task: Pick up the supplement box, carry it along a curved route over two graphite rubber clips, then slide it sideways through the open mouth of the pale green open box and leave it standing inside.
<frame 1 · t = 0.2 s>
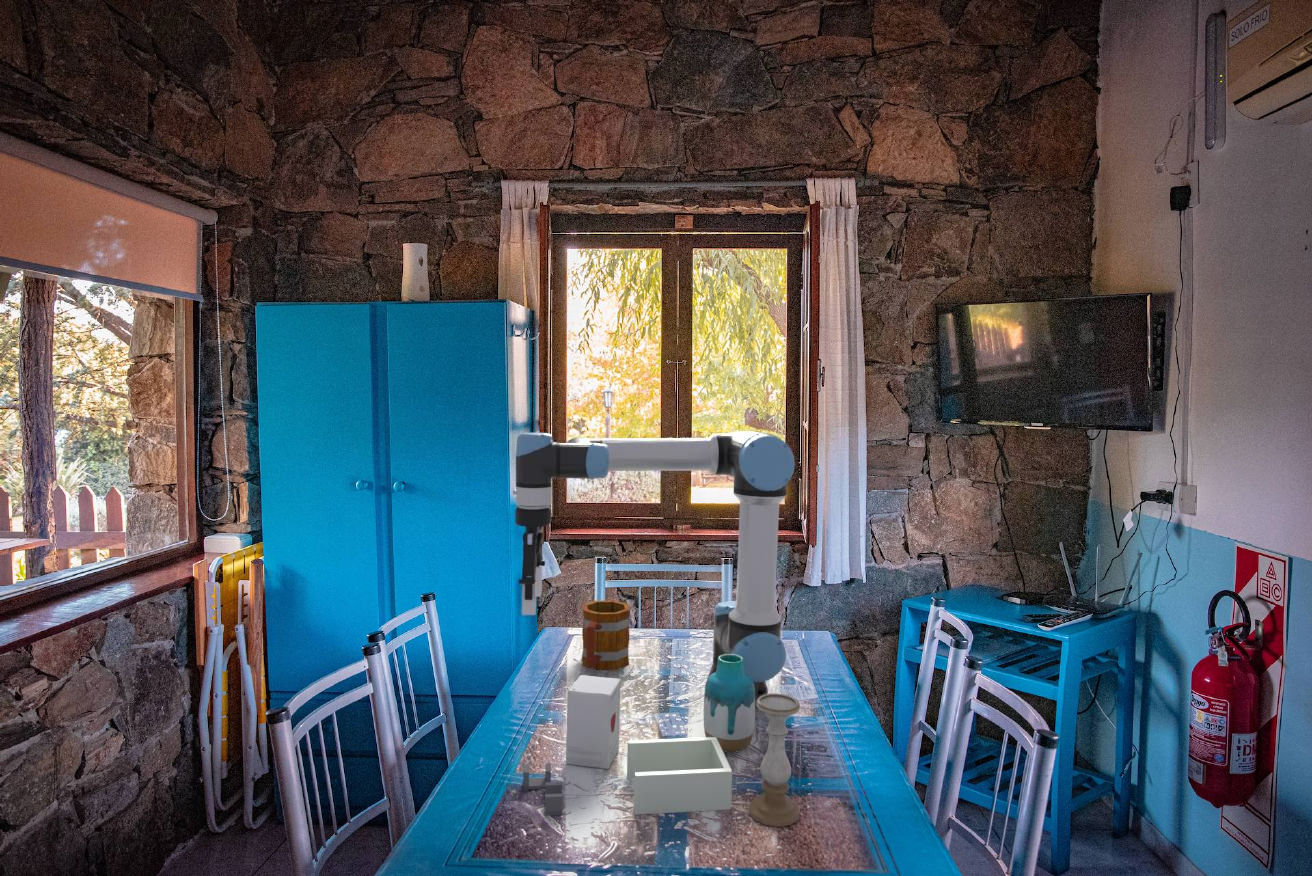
hand: (532, 605, 165), 27 cm above the table, fingers open, 13 cm apart
mug: (601, 666, 206), on the table
clip 1: (537, 784, 144), on the table
candle holder: (774, 814, 137), on the table
clip 2: (553, 807, 137), on the table
supplement box: (593, 757, 156), on the table
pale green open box: (663, 792, 143), on the table
vase: (728, 749, 161), on the table
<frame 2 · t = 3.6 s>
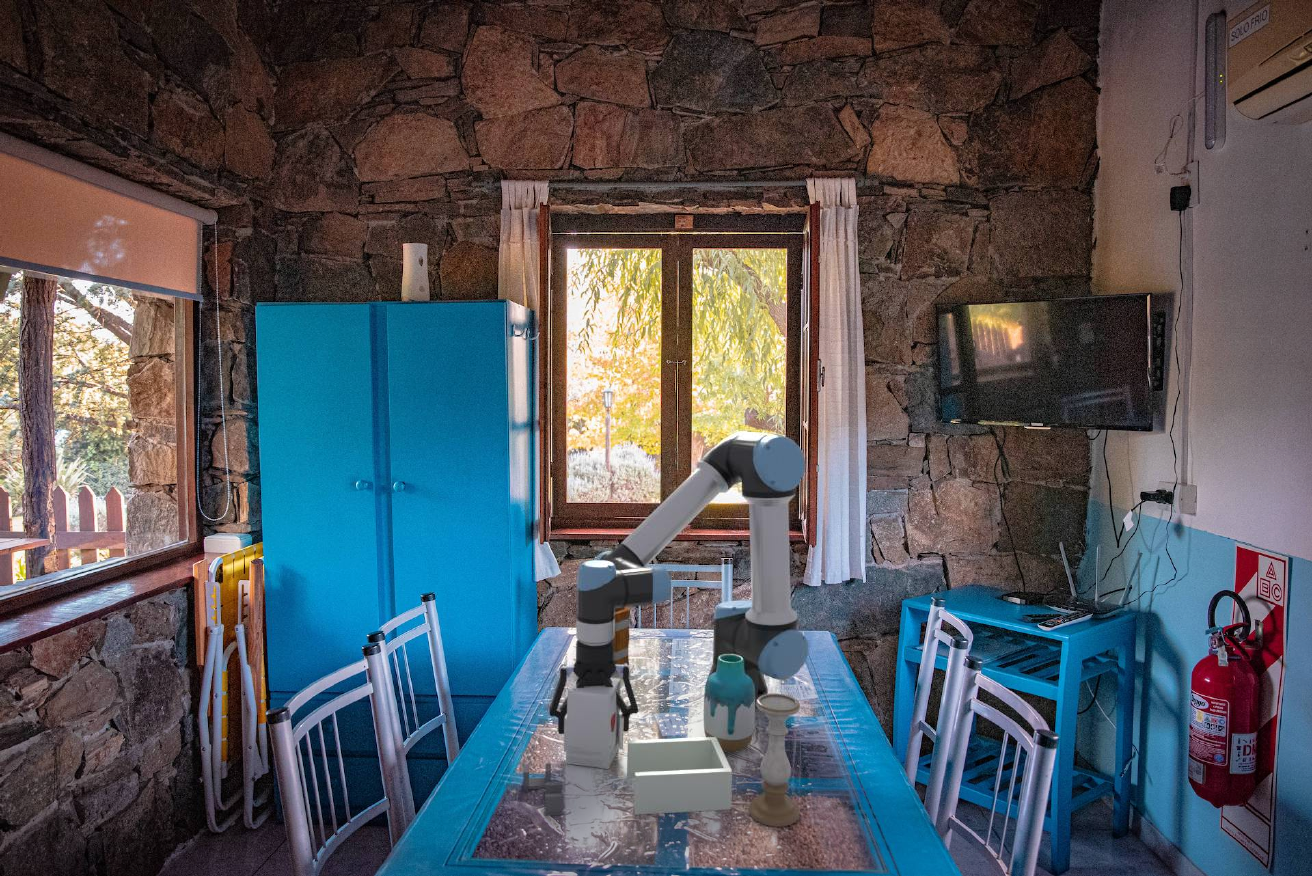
hand: (593, 747, 156), 2 cm above the table, fingers closed on supplement box, 10 cm apart
supplement box: (593, 757, 156), on the table, touching gripper
everything else where it was.
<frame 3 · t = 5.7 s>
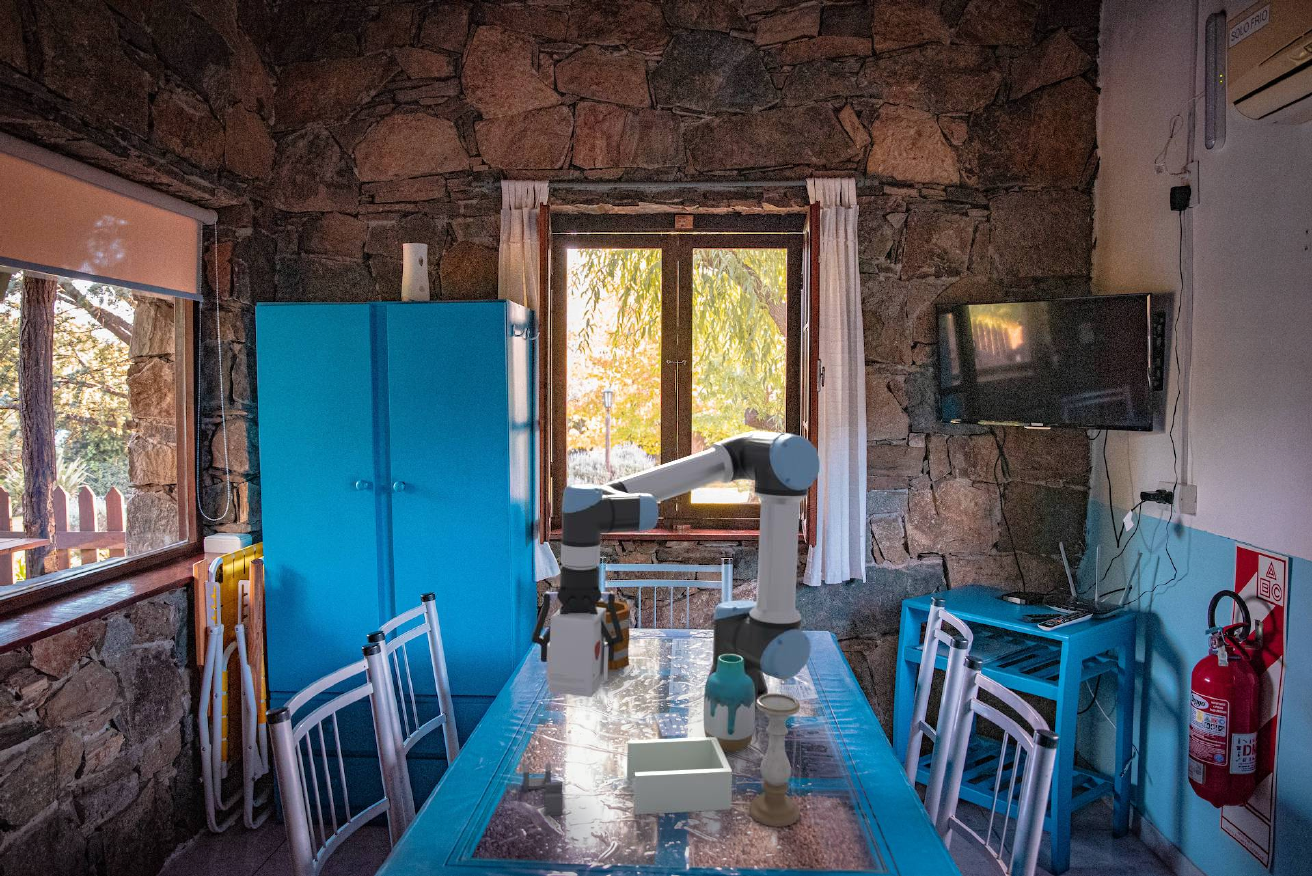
hand: (576, 677, 151), 18 cm above the table, fingers closed on supplement box, 10 cm apart
supplement box: (576, 687, 151), point 15 cm above the table, touching gripper
everything else where it was.
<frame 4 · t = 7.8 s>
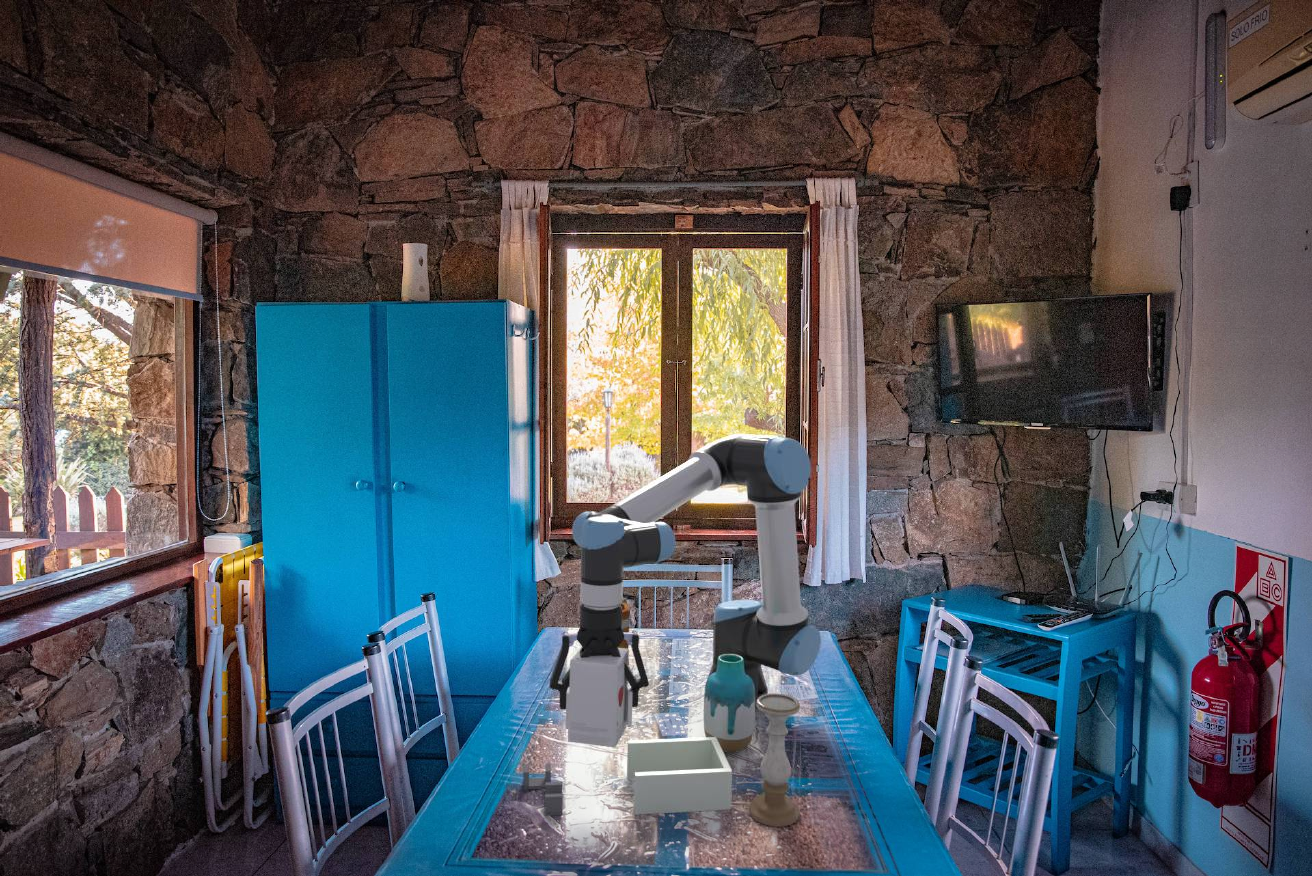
hand: (598, 724, 140), 13 cm above the table, fingers closed on supplement box, 10 cm apart
supplement box: (598, 735, 140), point 11 cm above the table, touching gripper
everything else where it was.
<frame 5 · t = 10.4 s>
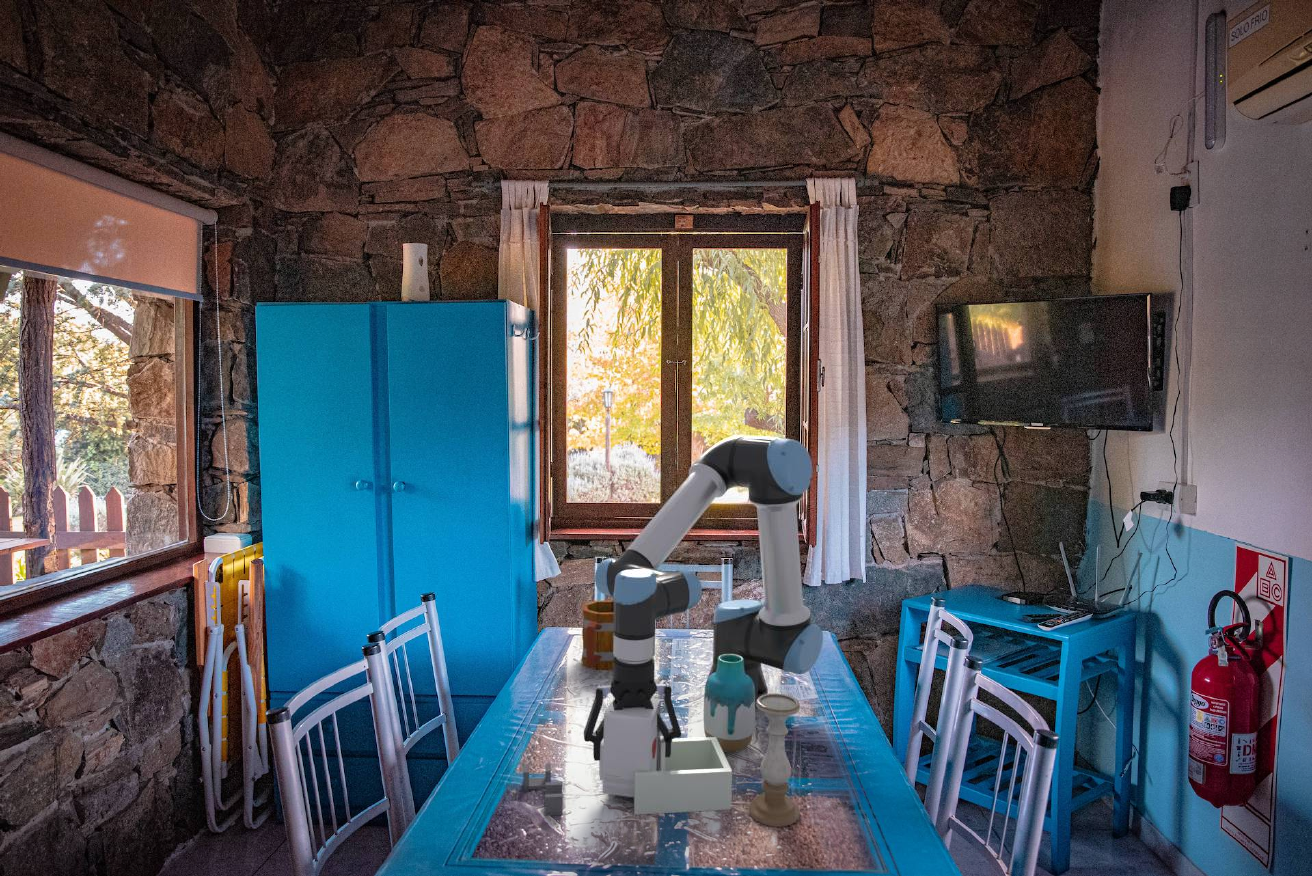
hand: (631, 774, 142), 4 cm above the table, fingers closed on supplement box, 10 cm apart
supplement box: (631, 785, 142), point 2 cm above the table, touching gripper
everything else where it was.
when the fingers open (4 cm above the table, at t = 12.3 s): supplement box drops 2 cm, resting in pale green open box.
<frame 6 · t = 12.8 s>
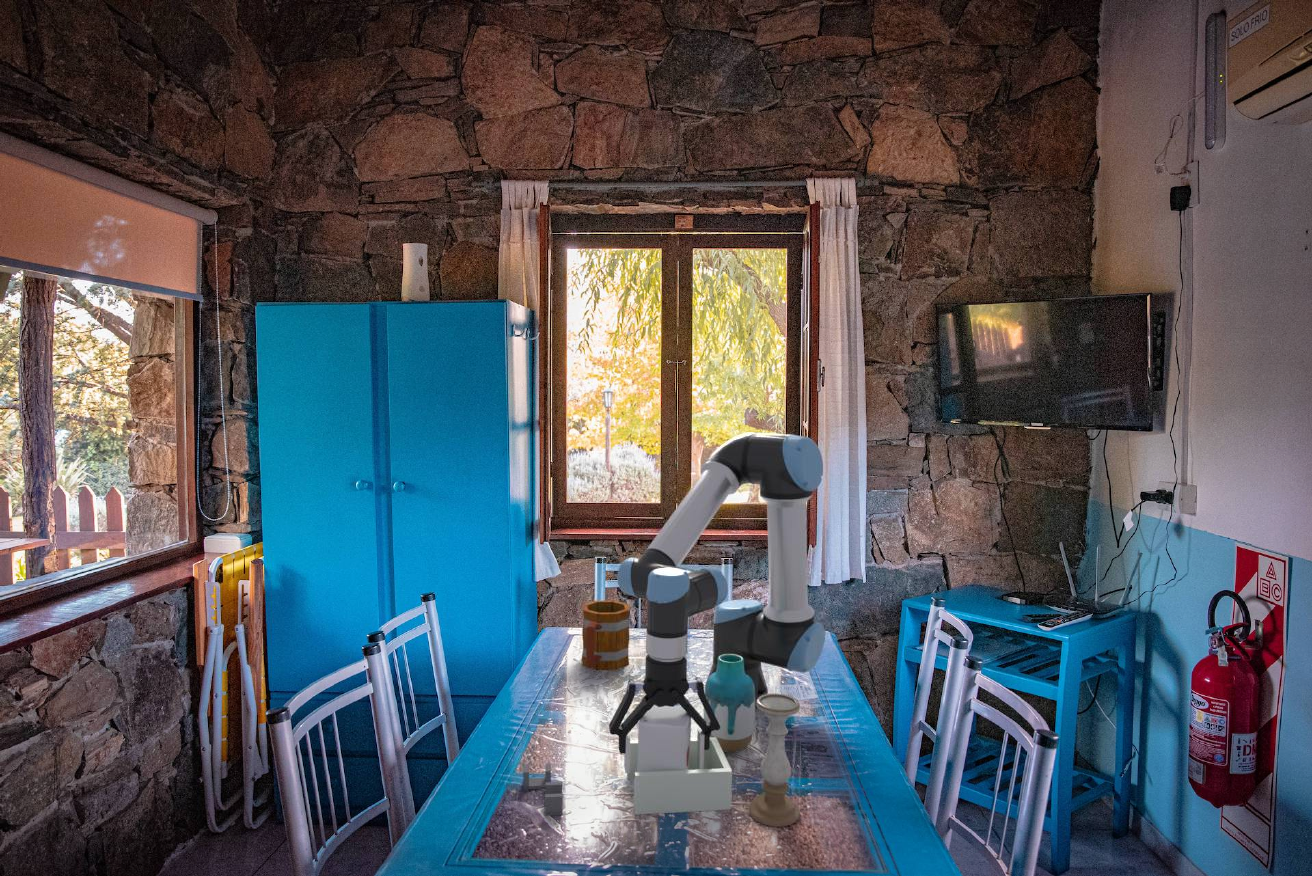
hand: (663, 768, 142), 5 cm above the table, fingers open, 13 cm apart
supplement box: (663, 794, 143), resting in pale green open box
everything else where it was.
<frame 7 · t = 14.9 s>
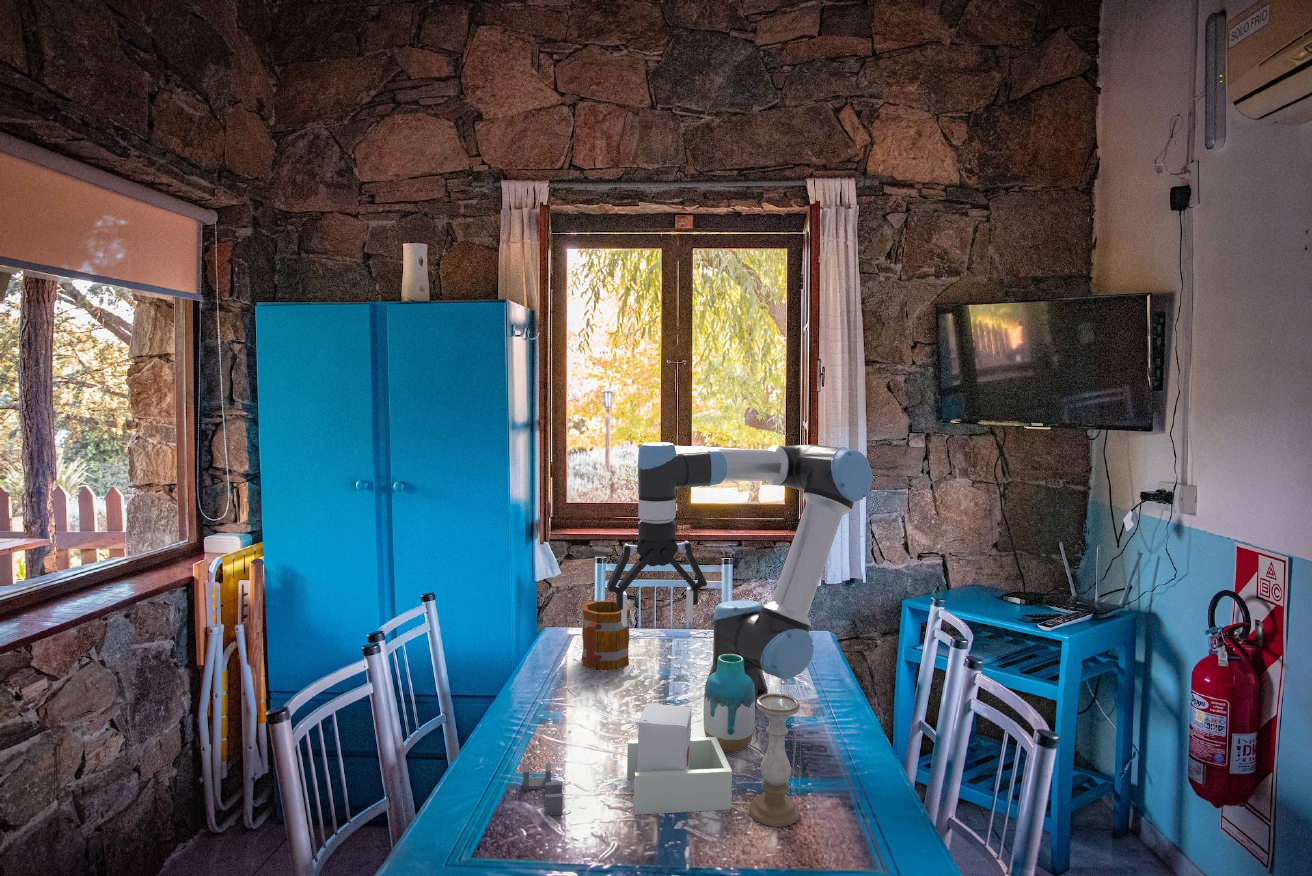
hand: (657, 622, 158), 26 cm above the table, fingers open, 13 cm apart
nothing on the table moved.
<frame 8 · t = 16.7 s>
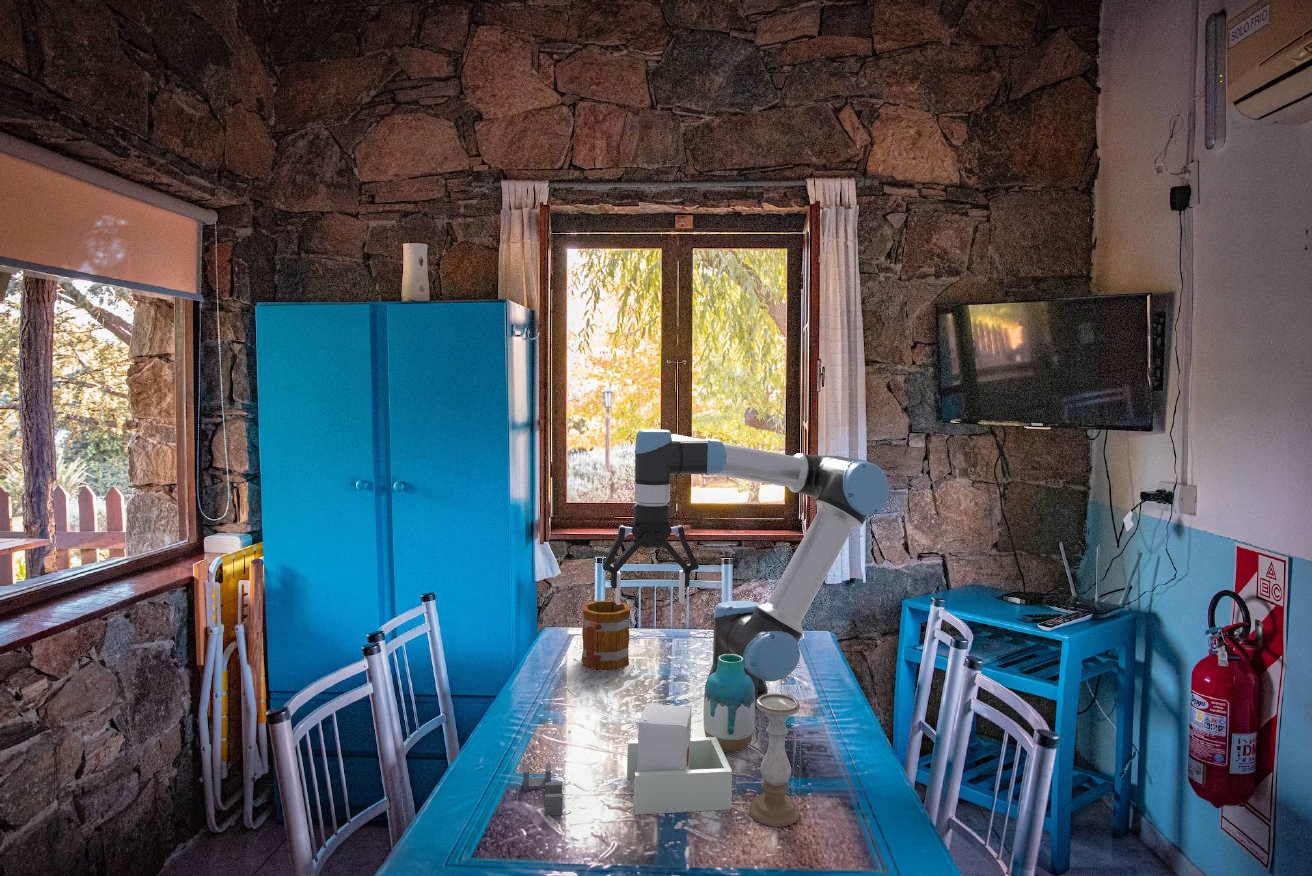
hand: (649, 602, 164), 29 cm above the table, fingers open, 13 cm apart
nothing on the table moved.
at the end: supplement box inside the target area on the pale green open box (1.4 cm from its centre), point 0.0 cm above the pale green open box's base; supplement box tilted 0°; the gripper is holding nothing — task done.
